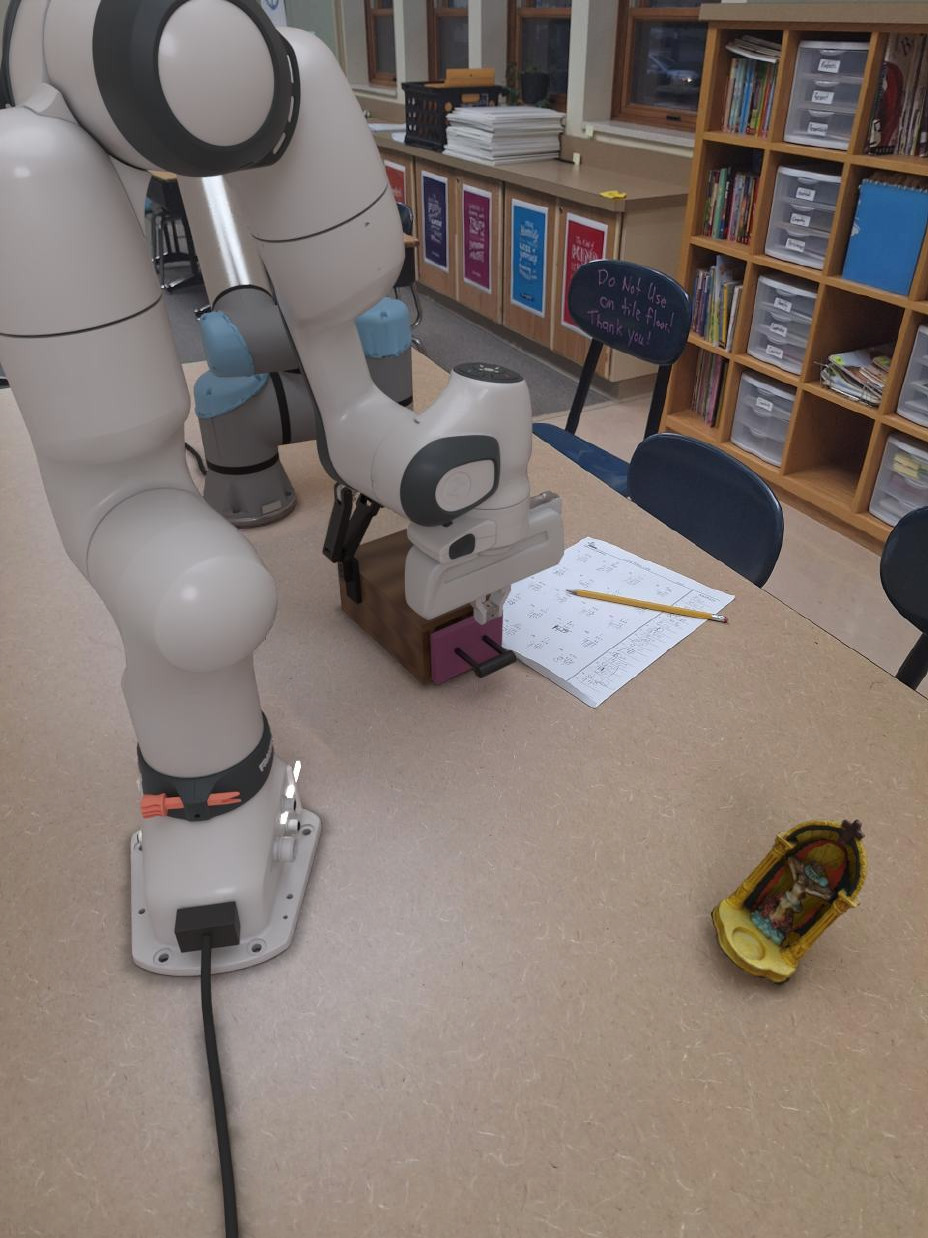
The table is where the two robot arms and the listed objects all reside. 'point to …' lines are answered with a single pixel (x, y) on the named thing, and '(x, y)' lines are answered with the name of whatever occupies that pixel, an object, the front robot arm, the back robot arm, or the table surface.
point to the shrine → (792, 897)
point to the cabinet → (393, 604)
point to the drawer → (467, 648)
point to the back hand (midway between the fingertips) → (392, 584)
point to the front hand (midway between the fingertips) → (488, 618)
